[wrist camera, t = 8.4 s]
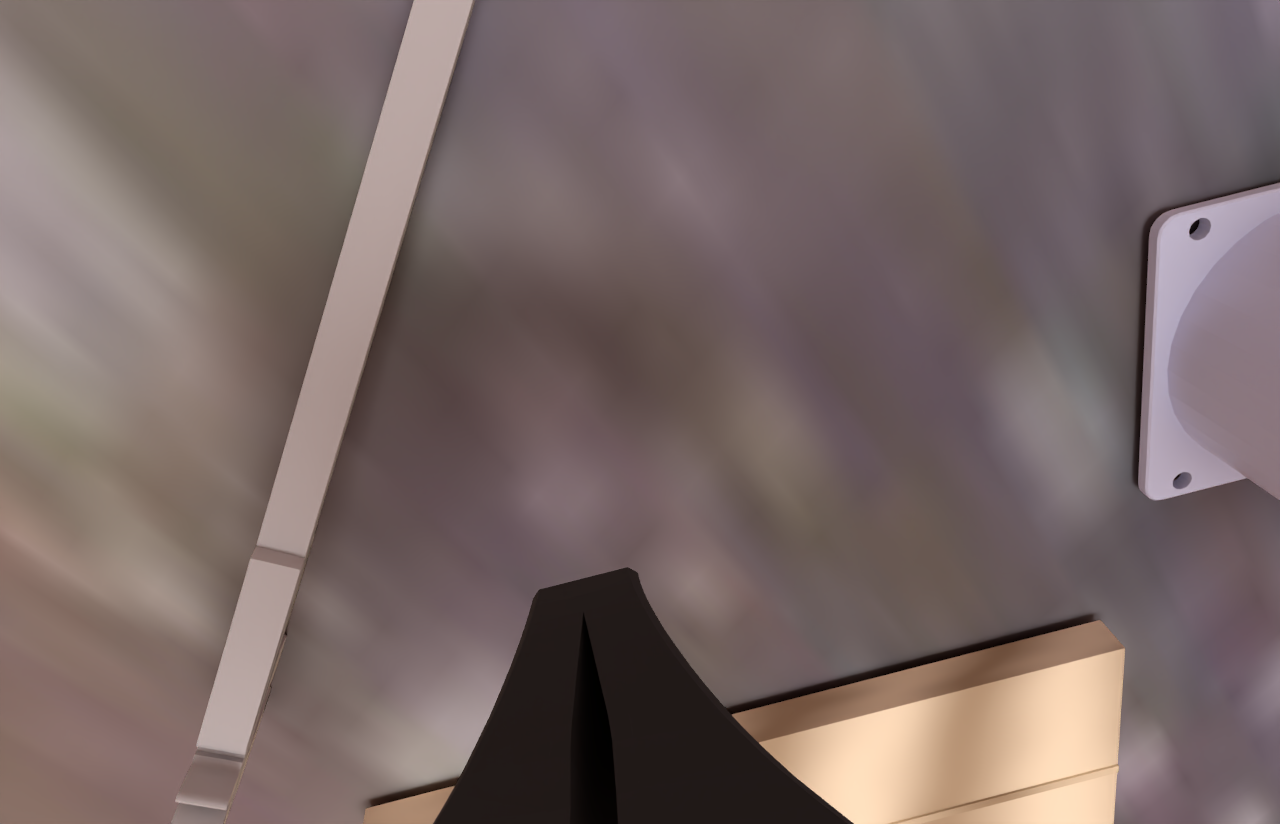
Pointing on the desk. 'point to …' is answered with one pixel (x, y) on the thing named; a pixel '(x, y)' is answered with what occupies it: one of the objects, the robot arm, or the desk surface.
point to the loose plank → (945, 738)
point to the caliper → (324, 406)
